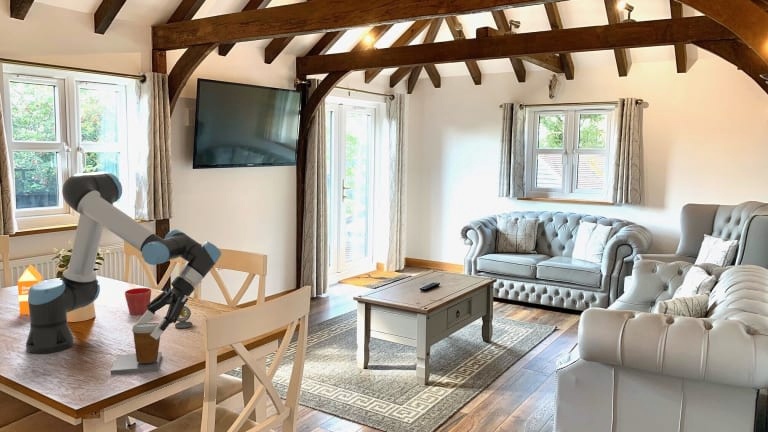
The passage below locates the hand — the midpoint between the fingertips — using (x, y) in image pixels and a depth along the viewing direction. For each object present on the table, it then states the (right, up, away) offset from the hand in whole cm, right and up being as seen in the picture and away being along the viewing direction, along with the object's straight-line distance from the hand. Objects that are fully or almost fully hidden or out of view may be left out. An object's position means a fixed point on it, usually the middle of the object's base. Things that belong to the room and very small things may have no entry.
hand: (145, 332), depth 202 cm
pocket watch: (-1, -5, +42) cm, 43 cm away
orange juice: (-73, -3, +60) cm, 94 cm away
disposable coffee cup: (+1, -9, -2) cm, 10 cm away
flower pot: (-26, -3, +60) cm, 65 cm away
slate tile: (-3, -11, 0) cm, 11 cm away
